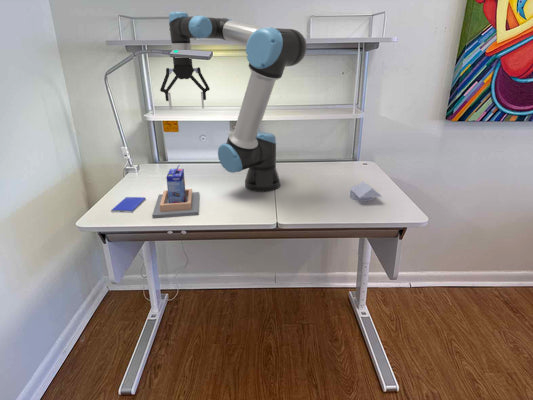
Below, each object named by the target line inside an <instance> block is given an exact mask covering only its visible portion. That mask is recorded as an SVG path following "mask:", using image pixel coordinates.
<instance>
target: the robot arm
mask: <svg viewBox="0 0 533 400" xmlns="http://www.w3.org/2000/svg"><path fill="white" fill-rule="evenodd" d="M168 26H169V34H170V42H171V51H172V50H176V49H177V50H191V51H192V46H191V45H192V44H191V39H200V40H201V39H209V40H210V39H213V40H214V39H216V40H217V39H218V40H223V41H228V42H232V43H235V44H238V45H242V46H245V54H246V55H247V56H246V59H247V62H248V69H249V70H250V76H249V78H248V82H247V86H246V89H245V92H244V95H243V100H242V103H241V107H240V110H239V113H238V114H239V115H238V116H237V121H236V123H235V127H234V130H232V131H231V132H229V134H228V137H227V139H226V142H225V143H222V144H220V145H219V147H218V149H217V157H218V160H219V163H220V165H221V166H222V168H223V169H224V170H226V171H227V172H228V173H233V174H234V173H238V172H242V171H245V170H247V169H248V170H247V173H246V177H245V179H244V186H245V189H247V190H250V191H254V192H269V191H270V192H271V191H275V190H277V189H279V188H280V186H281V182H280V181H281V180H280V177H279V174H278V171H277V167H276V166H277V161H276V160H277V141H276V136H275V135H274V134H273V133H271V132H263V131H259V130H260V127H261V125H262V121H263V119H264V116H265V113H266V109H267V106H268V103H269V100H270V98H271V95H272V92H273V89H274V87H275V83H276V81H277V80H280V79H281V78H282V76H283V75H284V74H283V73H284V71H285V69H286V67H292V66H296V65H298V64H299V63H301V62H302V60H303V59H304V57H305V56H306V53H307V48H308V47H307V46H308V45H307V41H306V39H305V37H304V35H303V34H302V33H301V31H299V30H296V29H293V28H279V27H278V28H275V27H271V26H270V27H262V26H256V25H252V24H247V23H244V22H240V21H235V20H233V19H230V18H227V17H223V18H222V17H221V18H220V17H207V16H206V15H195V16H189V14H188V12H184V11H171V12H170V13H168ZM172 61H173V62H172V63H173V68H170V67H167V68H166V69H165V71H166V72H165V76H164V78H163V82H162V84H161V87H160V89H159V91H160V92H162V93H164V95H165V101H166V102H168V107H169V110H172V109H173V105H172V98H171V92H170V91H171V89H172V87H173V86H174V85H175V84H176V82H177V80H178V79H179V80H189V79H190V80H191V81H192V82H193V83H194V84H195V85H196V86H197V87H198V88H199V89H200V90H201V91H200V95H201V96H200V98H201V109H205V104H204V101H206V100H207V92H208V91H210V87H209V85H208V83H207V81H206V79H205V77H204V76H203V74H202V72H201V68H200V67H196V68H195V67H194V66H193V58H192V59H189V58H175V57H173V56H172ZM172 72H173V73H174V75H175V76H174V78H173V79H172V80H171V82H170V83H169V84H168V86H167V87H166V85H167V82H168V80H169V77H170V75H171V74H172ZM194 72H195V73H196V74H197V75H198V77H199V78H200V81H201V82H202V84H203V85H204V86H203V85H202V84H201V83H200V82H199V81H198V80H197V78H195V77H194V75H193V74H194ZM165 87H166V88H165Z"/></svg>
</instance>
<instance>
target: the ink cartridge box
mask: <svg viewBox="0 0 533 400" xmlns="http://www.w3.org/2000/svg"><path fill="white" fill-rule="evenodd" d="M179 167H180V164H178V166H177V167H176V168H170V169H169V171H168V173H167V175H166V178H165V179H166V188H167V190H168V199H169V203H183V202H185V199H186V194H185V189H186V182H185V181H186V179H185V169H184V168H179Z"/></svg>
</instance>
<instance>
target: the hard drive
mask: <svg viewBox="0 0 533 400" xmlns="http://www.w3.org/2000/svg"><path fill="white" fill-rule="evenodd" d="M145 201H147V200H146V197H144V196H143V197H142V196H141V197H140V196H139V197H137V196H136V197H135V196H127V197H124V199H122V200H121V201H120V202H119V203H118V204H116V205H115V206H114V207H113V208H111V210H110V212H111V213H127V214H130V213H131V214H133V213H134V212H135V211H136V210H137V209H138V208H140V206H142V204H143V203H144V202H145Z"/></svg>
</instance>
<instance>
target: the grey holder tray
mask: <svg viewBox="0 0 533 400" xmlns="http://www.w3.org/2000/svg"><path fill="white" fill-rule="evenodd" d="M185 194H186V199H185V202H183V203H169V199H168V189H167V190H163V193H162V194H158V197H157V199H156V202H155V206H154V209H153V212H152V214H151V215H152V216H151V217H152V219H161V218H173V217H188V216H189V217H190V216H199V213H200V209H199V208H200V192H199V191H193V188H185Z"/></svg>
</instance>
